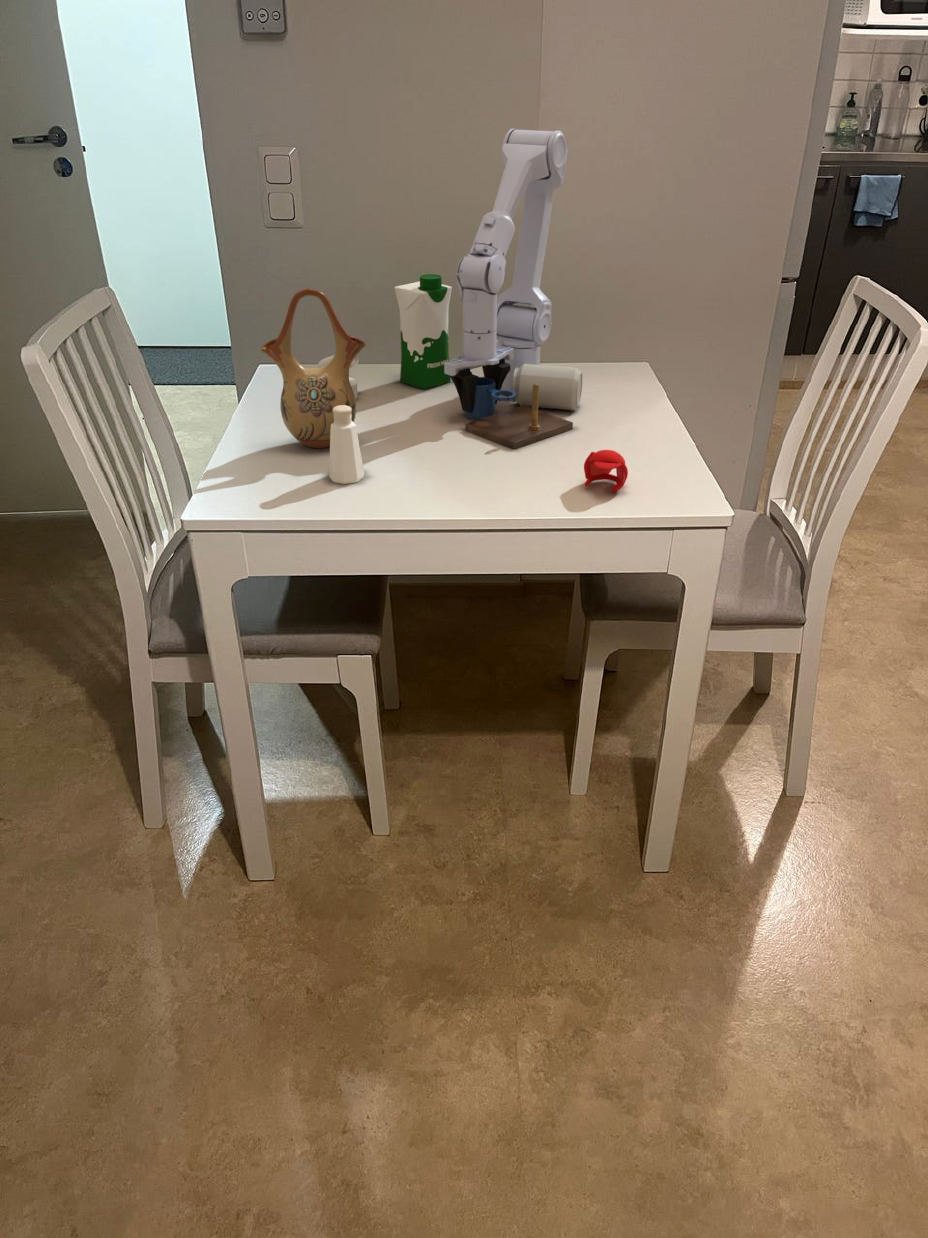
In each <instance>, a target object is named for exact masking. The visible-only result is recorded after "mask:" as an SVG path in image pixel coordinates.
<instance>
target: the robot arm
mask: <svg viewBox="0 0 928 1238" xmlns="http://www.w3.org/2000/svg"><path fill="white" fill-rule="evenodd" d="M568 153H569V152H568V145H567V140H566V137H565V136H564V133H563V131H561V130H553V131H552V130H534V129H531V130H530V129H518V128H510V129H509V130H508V131H507V132H506V134H505V135H504V138H503V141H502V145H501V162H502V167H503V169H504V170H503V172H502V175H501V180H500V183H499V186H498V190H497V194H496V197H495V200H494V205H493V208H492V211H490V212H487V213H485V214H484V215H483V217H482V219H481V222H480V224H479V227H478V229H477V232H476V235H475V237H474V240H473V243H472V244H471V245H472V246H471V248H470V251H469V253H467V254H466V255H465V256H463V257H461V258H460V260H459V262H458V264H457V268H456V274H455V281H456V285H457V287H458V290H459V299H460V301H461V302H462V354H460V355H458V356H456V357H454V358H453V359H449V361H448V362H445V363H444V372H445V374H447V375H449V376H450V379H451V382H452V383H453V385H454V387H455V389H456V392H457V395H458V398H459V402H460V406H461V410H462V411H463V412H464V411H467V412H469V413H470V412H473V408H474V393H475V387H476V383H477V380H478V378H479V377H480V376H478V375H476V374H473V371H471V370H474V369H478V368H481V369H482V373H483V377H486V378H491V379H493V380H494V381H495V389H496V390H508V391H509V390H510V391H512V378H513V373H514V370H515V368H516V367H518V368H520V367H521V366H522V365H524V364H534V365H541V364H540V363H541V345H543V344H544V343H545V342H546V341H547V339H548V338H549V336H550V334H551V331H552V330H551V329H552V306H553V305H552V304H553V303H552V301H550V299H549V298H548V297H547V295H545V293H544V292H543V291H542V289H541V287H540V286H541V281H542V274H543V268H544V261H545V255H546V248H547V244H548V243H547V241H548V235H549V230H550V223H551V215H552V210H553V203H554V197H555V191H556V190H557V189H558V188H560V187H561V186H563V182H564V177H565V173H566V165H567V159H568ZM523 198H524V201H523V208H522V215H521V216H522V217H521V221H520V229H519V236H518V242H517V248H516V249H517V250H516V255H515V263H514V269H513V276H512V283H511V286H510V287H508V288H506V289H505V290H504V291H503V292H501V293H500V294H498V293H499V292H500V290H501V289H502V287H503V284H504V281H505V273H506V266H507V260H506V255H507V253H508V250H509V248H510V245H511V242H512V240H513V236H514V234H515V232H516V226H515V223H514V221H513V219H514V217H515V214H516V212H517V210H518V208H519V206H520V204H521V201H522V200H523ZM515 304H516V305H515ZM517 304H523V305H517ZM525 305H531V306H525ZM532 306H534V307H532ZM506 395H508V394H506ZM496 396H499V397H500V394H499V395H496ZM508 396H511V395H508ZM497 404H498V401H497V400H495V406H496V405H497Z"/></svg>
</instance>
